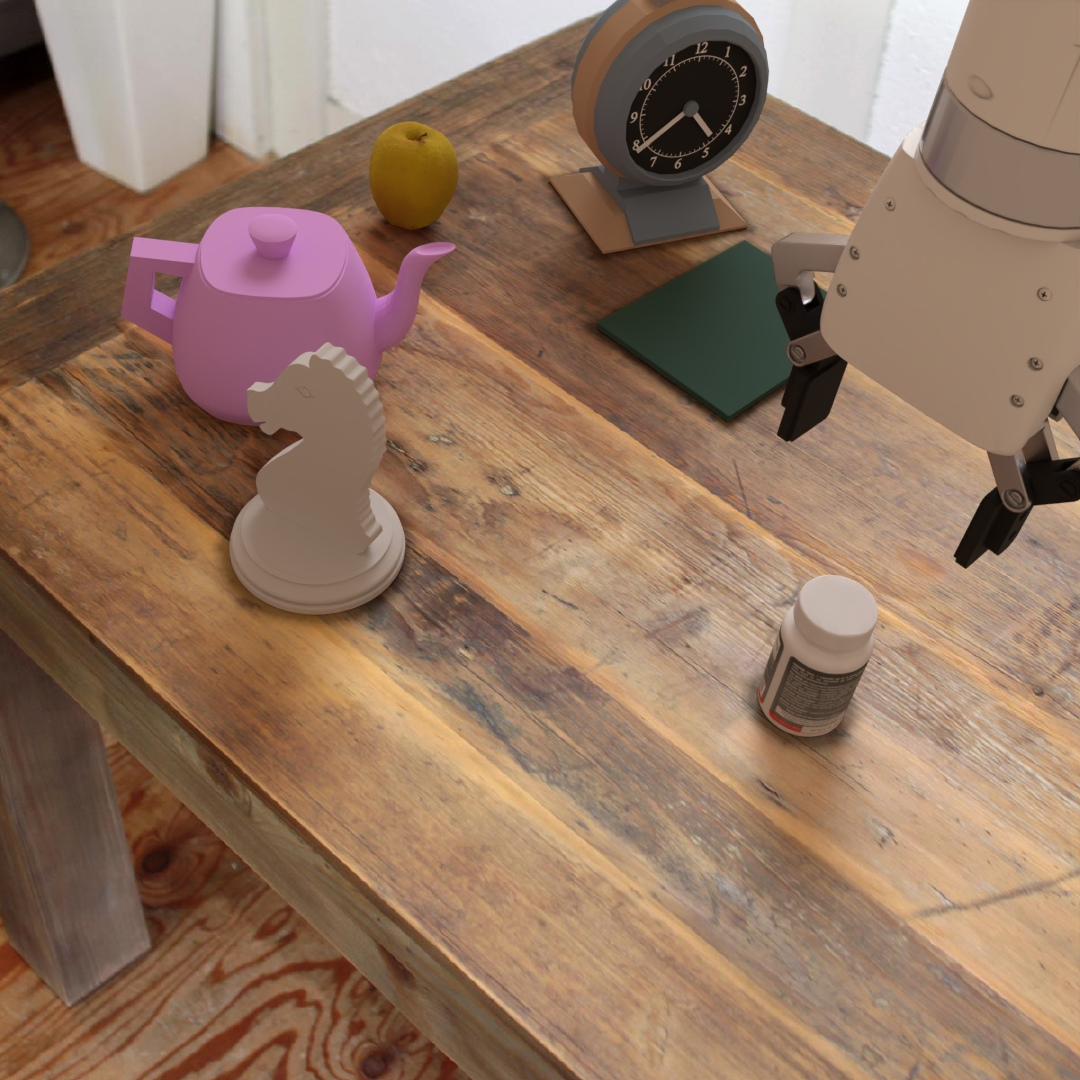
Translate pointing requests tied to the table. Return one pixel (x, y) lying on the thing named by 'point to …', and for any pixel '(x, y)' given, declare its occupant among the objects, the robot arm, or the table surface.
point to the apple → (412, 174)
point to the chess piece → (319, 492)
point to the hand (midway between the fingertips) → (886, 486)
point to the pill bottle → (819, 656)
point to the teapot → (267, 301)
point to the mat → (712, 331)
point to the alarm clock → (662, 118)
